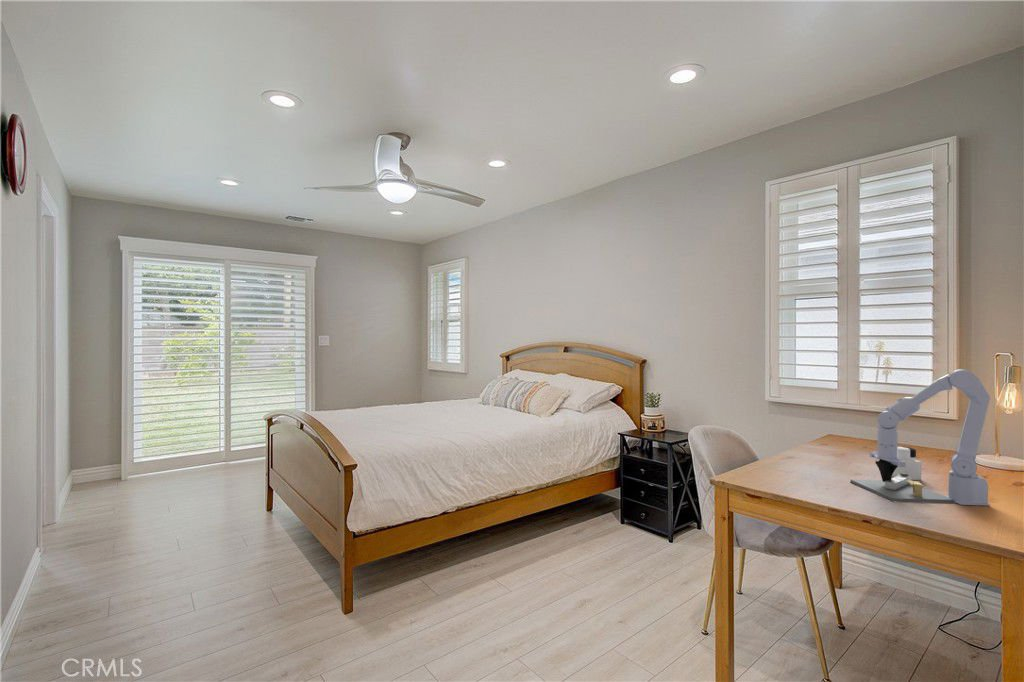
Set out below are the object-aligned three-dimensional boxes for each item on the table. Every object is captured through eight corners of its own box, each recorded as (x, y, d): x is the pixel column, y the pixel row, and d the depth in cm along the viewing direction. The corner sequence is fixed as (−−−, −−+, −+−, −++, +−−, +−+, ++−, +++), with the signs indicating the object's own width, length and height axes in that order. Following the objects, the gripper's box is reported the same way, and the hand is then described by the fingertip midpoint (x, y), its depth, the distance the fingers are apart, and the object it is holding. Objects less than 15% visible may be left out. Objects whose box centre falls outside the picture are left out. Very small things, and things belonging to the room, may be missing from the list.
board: (904, 483, 182) (904, 471, 182) (954, 502, 161) (954, 488, 161) (850, 482, 182) (850, 470, 182) (892, 501, 161) (893, 487, 161)
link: (899, 480, 181) (899, 473, 181) (912, 483, 178) (912, 476, 178) (883, 487, 172) (883, 480, 172) (896, 490, 169) (897, 483, 168)
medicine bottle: (901, 474, 194) (902, 444, 193) (921, 479, 187) (922, 448, 187) (889, 476, 191) (889, 445, 191) (908, 481, 184) (909, 450, 184)
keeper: (906, 491, 169) (907, 479, 169) (918, 492, 168) (918, 480, 168) (912, 496, 164) (912, 483, 163) (924, 497, 162) (924, 485, 162)
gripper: (862, 439, 183) (861, 475, 183) (891, 448, 168) (890, 487, 168) (881, 440, 183) (879, 476, 183) (911, 449, 168) (910, 488, 168)
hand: (886, 481), depth 176 cm, fingers closed
